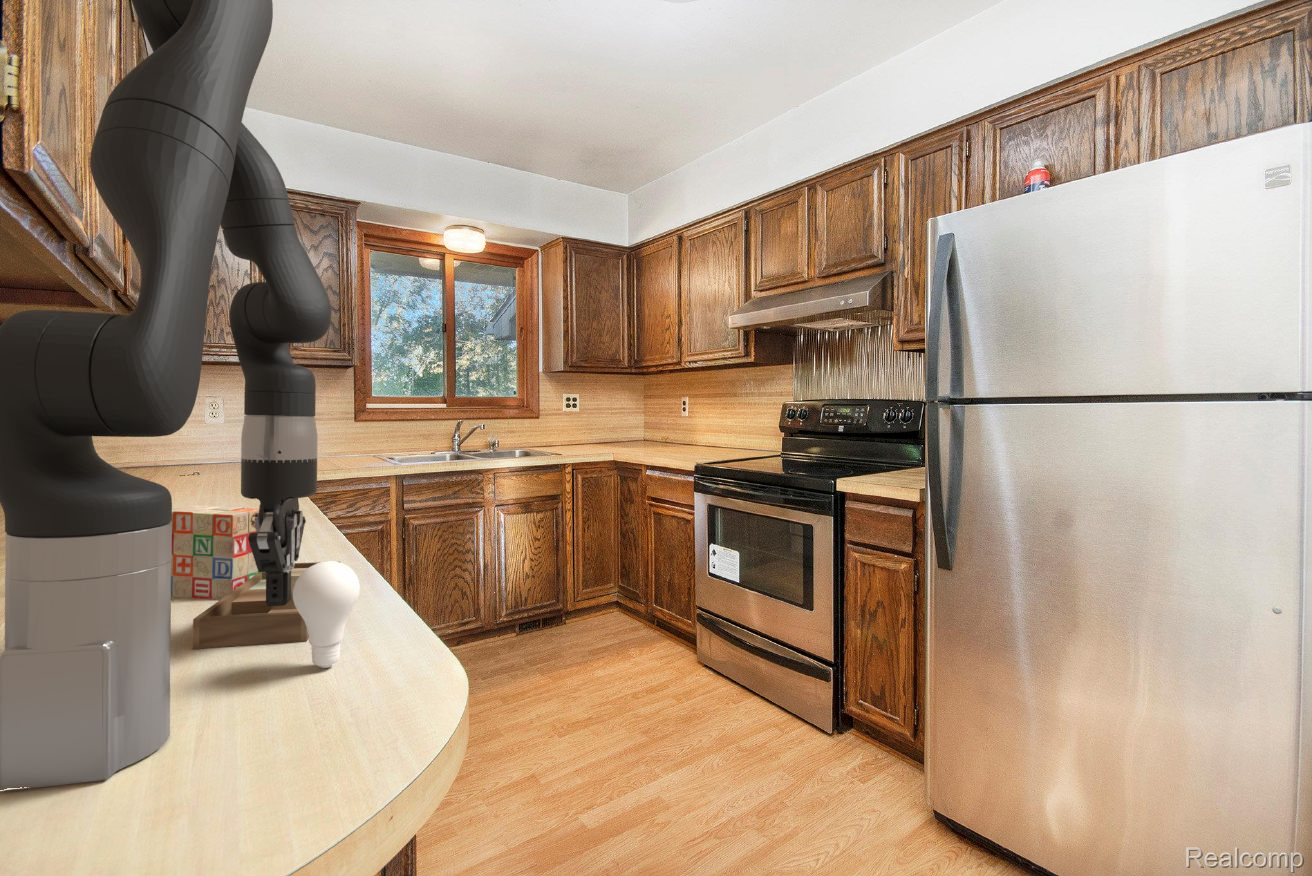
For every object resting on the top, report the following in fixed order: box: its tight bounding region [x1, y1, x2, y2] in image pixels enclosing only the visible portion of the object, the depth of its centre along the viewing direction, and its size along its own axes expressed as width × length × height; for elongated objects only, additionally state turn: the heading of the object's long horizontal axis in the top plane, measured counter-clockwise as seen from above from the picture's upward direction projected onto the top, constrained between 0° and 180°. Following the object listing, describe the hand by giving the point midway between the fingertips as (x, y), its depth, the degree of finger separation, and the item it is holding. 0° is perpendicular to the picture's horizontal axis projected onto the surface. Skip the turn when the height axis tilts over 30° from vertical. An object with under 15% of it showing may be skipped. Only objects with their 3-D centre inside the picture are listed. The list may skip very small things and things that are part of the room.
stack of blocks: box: [171, 504, 262, 601], centre depth 90 cm, size 21×6×12 cm, turn 85°
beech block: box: [272, 568, 308, 610], centre depth 77 cm, size 4×4×4 cm
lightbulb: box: [293, 560, 361, 669], centre depth 64 cm, size 6×6×11 cm
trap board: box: [192, 561, 341, 650], centre depth 80 cm, size 21×11×4 cm, turn 16°
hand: (278, 603), depth 71 cm, fingers closed
